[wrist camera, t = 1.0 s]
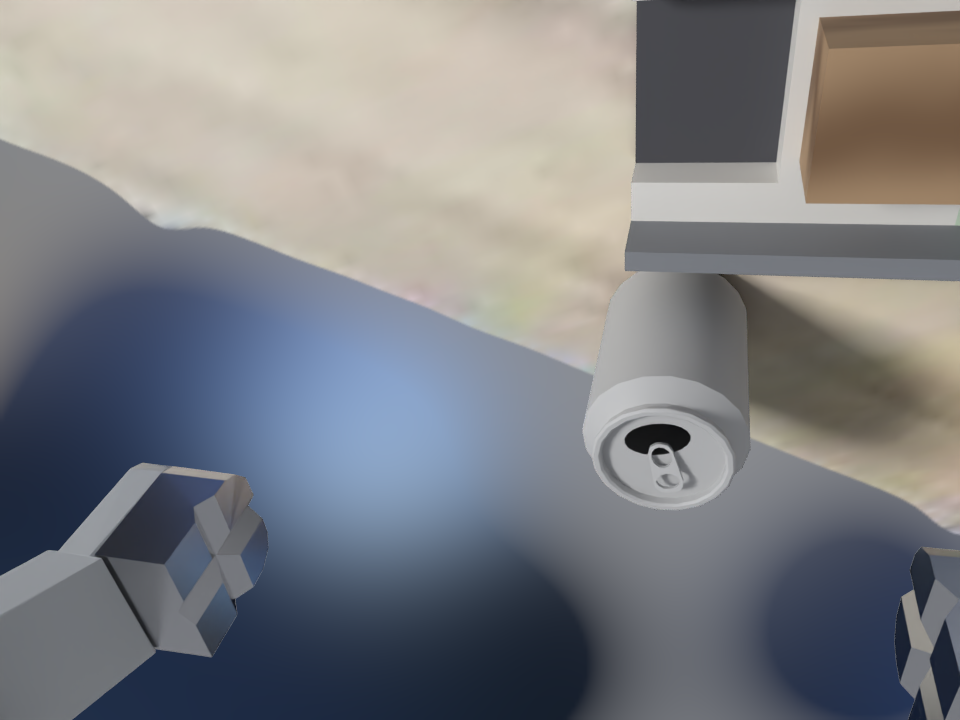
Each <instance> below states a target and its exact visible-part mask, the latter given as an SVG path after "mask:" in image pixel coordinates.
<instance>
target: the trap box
mask: <svg viewBox="0 0 960 720" xmlns="http://www.w3.org/2000/svg"><path fill="white" fill-rule="evenodd" d="M632 1H637V50H636V164H635V168H634V173H633V177H632V182H631V224H630V229H629V234H628V239H627V244H626V249H625V271H645V272H678V273H710V274H743V275H775V276H808V277H840V278H873V279H906V280H938V281H960V205H928V204H806V202H805V195H804V189H803V183H802V176H801V170H800V163H799V160H800V153H801V146H802V138H803V131H804V124H805V117H806V110H807V103H808V96H809V88H810V81H811V74H812V67H813V60H814V53H815V46H816V38H817V31H818V24H819V17H838V16H858V15H878V14H899V13H919V12H939V11H960V0H632Z"/></svg>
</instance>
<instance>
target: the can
mask: <svg viewBox="0 0 960 720" xmlns="http://www.w3.org/2000/svg"><path fill="white" fill-rule="evenodd" d="M583 436H584V441H585V446H586V449H587V451H588V453H589V454H590V456H591V457H592V459H593V463H594V468H595V470H596V472H597V473H598V475H599V476H600V478H601V479H602V481H603V483H604V484H605V485H607V486H608V487H609V488H610V489H611V490H613V491H614V492H615V493H616V494H618V495H619V496H621V497H623V498H625V499H627V500H629V501H631V502H633V503H635V504H638V505H642V506H646V507H650V508H654V509H662V510H663V509H665V510H681V509H687V508H692V507H697V506H700V505H703V504H705V503H707V502H709V501H711V500H713V499H715V498H717V497H718V496H719V495H720V494H721V493H722V492H723V491H724V490H725V489H726V488H727V487H729V485H730V483H731V481H732V479H733V476H734V475H735V474H736V473H737V472H738V471H739V470H740V469H741V468H742V467H743V465H744V463H745V461H746V458H747V456H748V454H749V451H750V417H749V379H748V341H747V311H746V308H745V305H744V303H743V301H742V299H741V297H740V295H739V292H738V291H737V290H736V289H735V288H734V287H733V286H732V285H731V284H730V283H729V282H728V281H727V280H726V279H725V278H724V277H722V276H720V275H718V274H710V273H678V272H645V271H639V272H637V273H635V274H634V275H632V276H631V277H630V278H628V279H627V280H626V281H624V282H623V283H622V284H621V285H620V286H619V288H618V289H617V291H616V292H615V294H614V295H613V296H612V298H611V299H610V304H609V308H608V312H607V317H606V321H605V326H604V331H603V336H602V340H601V345H600V350H599V354H598V359H597V364H596V368H595V373H594V378H593V383H592V388H591V392H590V397H589V402H588V406H587V411H586V415H585V420H584V425H583Z"/></svg>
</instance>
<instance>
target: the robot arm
mask: <svg viewBox="0 0 960 720" xmlns="http://www.w3.org/2000/svg"><path fill="white" fill-rule="evenodd" d="M252 497H253V493H252V491H251V489H250V486H249V484H248V482H247V480H246V478H245V477H242V476H238V475H234V474H226V473H219V472H211V471H204V470H197V469H189V468H182V467H171V466H163V465H155V464H147V463H141V464H139V465H137V466H135V467H133V468H131V469H130V470H129V471H128V472H127V473H126V474H125V475H124V476H123V478H122V479H121V480H120V481H119V482H118V483H117V484H116V486H115V487H114V488H113V489H112V490H111V491H110V492H109V494H108V495H107V496H106V497H105V498H104V499H103V500H102V502H101V503H100V504H99V505H98V506H97V507H96V508H95V510H94V511H93V512H92V513H91V514H90V515H89V517H88V518H87V519H86V520H85V521H84V522H83V523H82V525H81V526H80V527H79V528H78V529H77V530H76V532H75V533H74V534H73V535H72V536H71V537H70V538H69V539H68V541H67V542H66V543H65V544H64V545H63V546H62V547H61V549H60V550H59V551H51V550H48V551H46V552H45V553H43V554H41V555H39V556H37V557H35V558H33V559H31V560H30V561H28V562H26V563H24V564H22V565H20V566H18V567H17V568H15V569H13V570H11V571H9V572H7V573H5V574H4V575H2V576H0V720H72V719H73V718H75V717H76V716H77V715H78V714H79V713H80V712H82V711H83V710H85V709H86V708H87V707H88V706H90V705H91V704H92V703H93V702H94V701H96V700H97V699H98V698H100V697H101V696H102V695H103V694H105V693H106V692H107V691H108V690H110V689H111V688H112V687H113V686H115V685H116V684H117V683H118V682H120V681H121V680H122V679H123V678H125V677H126V676H127V675H128V674H130V673H131V672H132V671H133V670H135V669H136V668H137V667H138V666H140V665H141V664H142V663H143V662H145V661H146V660H147V659H148V658H150V657H151V656H152V655H153V654H155V649H159V650H167V651H173V652H180V653H187V654H194V655H200V656H207V657H212V656H213V655H214V653H215V651H216V650H217V648H218V646H219V644H220V643H221V641H222V639H223V637H224V636H225V634H226V633H227V631H228V629H229V628H230V626H231V624H232V622H233V621H234V619H235V617H236V616H237V609H236V602H235V599H236V598H237V597H239V596H240V595H242V594H243V593H245V592H246V591H248V590H249V589H251V588H252V587H254V585H255V583H256V581H257V579H258V577H259V576H260V574H261V572H262V570H263V568H264V564H265V559H266V556H267V552H268V534H267V529H266V527H265V524H264V521H263V519H262V518H261V517H260V516H259V515H258V514H257V513H256V512H255V511H253V510H252V509H251V508H250V507H249V506H248V505H249V503H250V501H251V499H252ZM910 574H911V579H912V583H913V587H914V590H912V591H911V592H909V593H908V594H906V595H904V596H902V597H901V600H900V604H899V608H898V612H897V616H896V628H895V641H894V642H895V654H896V663H897V669H898V675H899V681H900V684H901V685H902V686H903V687H904V688H905V689H906V690H907V691H908V692H909V693H910V695H911V696H912V697H913V698H914V699H915V701H914V704H913V707H912V709H911V712H910V715H909V719H908V720H960V551H958V550H948V549H937V548H927V547H921V548H920V549H919V550H918V551H917V552H916V554H915V555H914V559H913V561H912V565H911V568H910Z"/></svg>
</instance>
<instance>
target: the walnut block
mask: <svg viewBox="0 0 960 720" xmlns="http://www.w3.org/2000/svg"><path fill="white" fill-rule="evenodd" d="M799 163H800V170H801V176H802V183H803V189H804V195H805V202H806V204H928V205H960V11H939V12H919V13H899V14H878V15H858V16H838V17H819V24H818V31H817V38H816V46H815V53H814V60H813V67H812V74H811V81H810V88H809V96H808V103H807V110H806V117H805V124H804V131H803V138H802V146H801V153H800V160H799Z"/></svg>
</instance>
